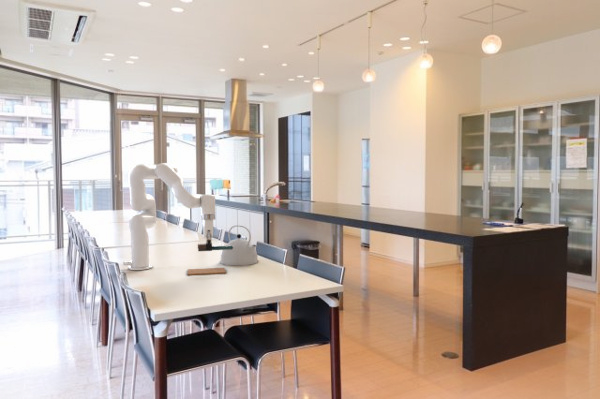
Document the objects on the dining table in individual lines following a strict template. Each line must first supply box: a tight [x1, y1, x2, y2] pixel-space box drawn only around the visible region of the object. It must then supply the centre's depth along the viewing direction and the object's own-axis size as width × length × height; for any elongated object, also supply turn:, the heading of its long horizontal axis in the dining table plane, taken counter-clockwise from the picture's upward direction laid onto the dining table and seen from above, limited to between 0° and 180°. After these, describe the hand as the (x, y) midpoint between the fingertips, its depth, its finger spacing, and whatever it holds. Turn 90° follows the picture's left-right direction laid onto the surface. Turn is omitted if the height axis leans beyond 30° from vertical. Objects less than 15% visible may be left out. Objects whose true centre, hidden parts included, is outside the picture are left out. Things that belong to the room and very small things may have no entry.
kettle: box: [220, 224, 259, 266], centre depth 281 cm, size 25×23×23 cm
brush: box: [197, 243, 233, 252], centre depth 253 cm, size 19×4×4 cm, turn 102°
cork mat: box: [187, 267, 227, 276], centre depth 253 cm, size 20×12×1 cm, turn 103°
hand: (209, 249), depth 252 cm, fingers closed on brush, 4 cm apart
